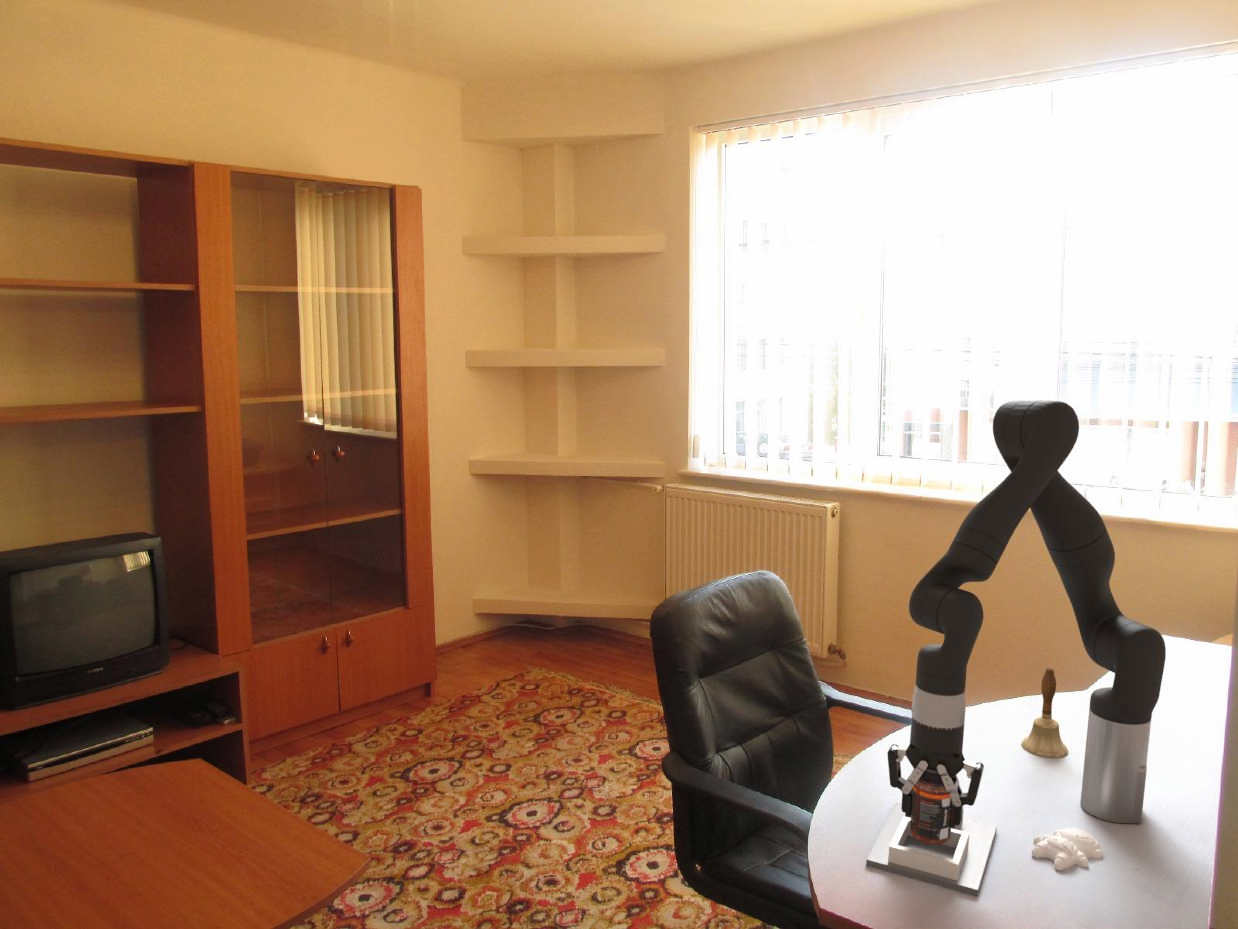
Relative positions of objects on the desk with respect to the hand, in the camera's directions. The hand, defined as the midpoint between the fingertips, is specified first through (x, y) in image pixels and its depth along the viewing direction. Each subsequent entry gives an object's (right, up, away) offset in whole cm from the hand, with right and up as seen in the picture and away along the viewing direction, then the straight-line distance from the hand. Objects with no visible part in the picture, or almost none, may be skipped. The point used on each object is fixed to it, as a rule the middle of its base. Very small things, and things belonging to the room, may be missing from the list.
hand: (930, 820), depth 149 cm
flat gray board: (+2, -6, +5) cm, 8 cm away
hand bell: (+35, -1, +40) cm, 53 cm away
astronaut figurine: (+22, -7, +4) cm, 24 cm away
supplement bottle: (0, -3, 0) cm, 3 cm away
